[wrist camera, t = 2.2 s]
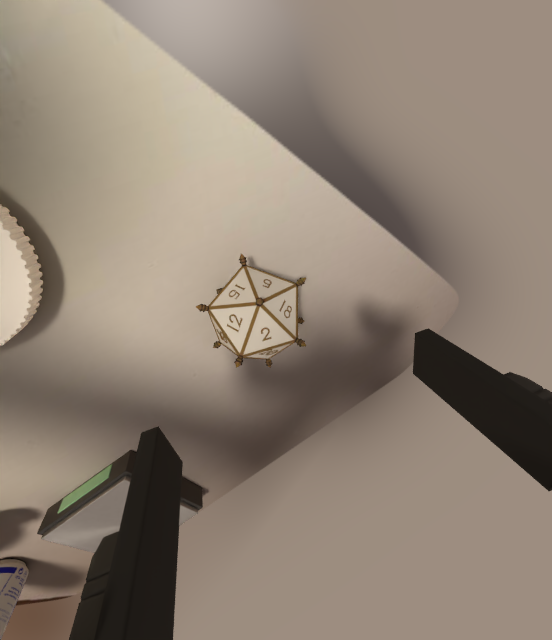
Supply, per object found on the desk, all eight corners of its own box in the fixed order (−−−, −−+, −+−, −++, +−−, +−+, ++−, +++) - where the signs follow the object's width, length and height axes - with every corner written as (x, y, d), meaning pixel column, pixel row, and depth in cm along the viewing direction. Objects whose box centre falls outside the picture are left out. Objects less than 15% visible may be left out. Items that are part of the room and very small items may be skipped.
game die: (260, 281, 29) (340, 325, 24) (209, 344, 27) (285, 404, 22) (225, 219, 21) (334, 266, 16) (150, 301, 19) (249, 380, 15)
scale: (47, 508, 30) (35, 533, 28) (130, 449, 29) (124, 470, 27) (132, 536, 36) (128, 558, 34) (202, 488, 36) (202, 507, 33)
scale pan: (43, 532, 28) (40, 539, 27) (125, 474, 27) (124, 480, 27) (128, 556, 34) (127, 562, 33) (198, 508, 33) (198, 513, 33)
